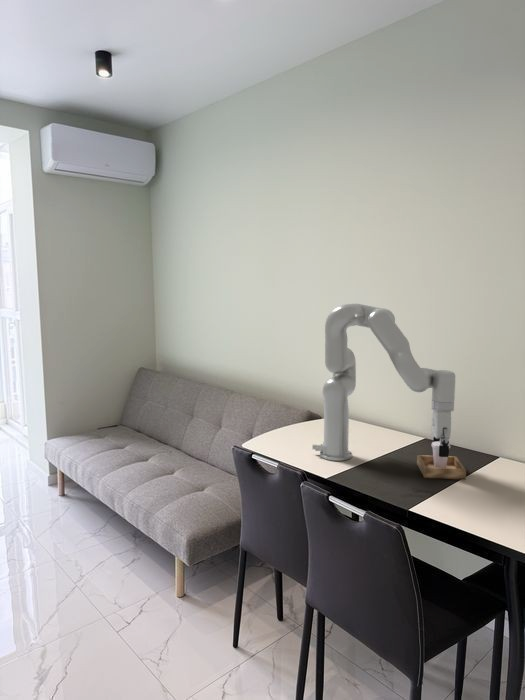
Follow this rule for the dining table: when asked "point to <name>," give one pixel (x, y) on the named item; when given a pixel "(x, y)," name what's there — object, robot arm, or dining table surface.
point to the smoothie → (438, 461)
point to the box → (450, 472)
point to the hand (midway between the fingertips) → (440, 452)
